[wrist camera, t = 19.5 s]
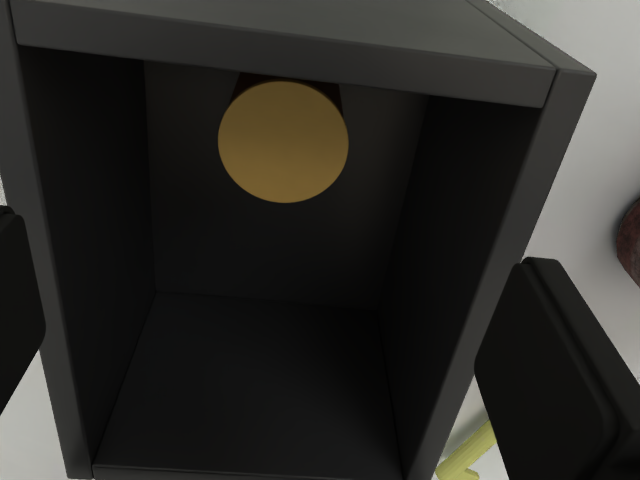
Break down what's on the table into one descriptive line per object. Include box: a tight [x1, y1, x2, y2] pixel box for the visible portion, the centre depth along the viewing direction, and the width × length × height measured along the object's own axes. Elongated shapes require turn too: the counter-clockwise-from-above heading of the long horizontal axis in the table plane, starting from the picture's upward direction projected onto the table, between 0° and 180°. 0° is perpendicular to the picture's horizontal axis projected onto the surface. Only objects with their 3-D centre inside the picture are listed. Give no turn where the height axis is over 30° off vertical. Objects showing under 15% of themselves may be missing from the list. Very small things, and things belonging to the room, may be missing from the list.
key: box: [435, 420, 497, 480], centre depth 32 cm, size 7×12×2 cm, turn 164°
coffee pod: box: [218, 72, 349, 203], centre depth 19 cm, size 4×4×5 cm
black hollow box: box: [0, 0, 597, 480], centre depth 19 cm, size 16×13×10 cm
